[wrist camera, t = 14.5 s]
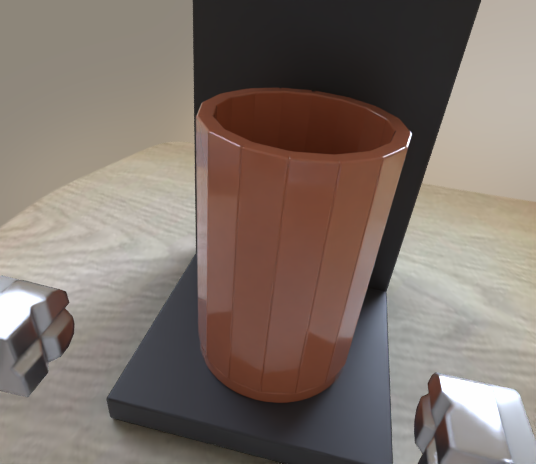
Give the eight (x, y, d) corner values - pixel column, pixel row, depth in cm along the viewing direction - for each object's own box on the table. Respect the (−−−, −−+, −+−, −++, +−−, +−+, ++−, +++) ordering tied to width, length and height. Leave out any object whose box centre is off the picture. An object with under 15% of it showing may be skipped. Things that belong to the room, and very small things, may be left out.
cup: (169, 366, 16) (152, 125, 11) (238, 273, 21) (250, 77, 16) (325, 430, 14) (396, 184, 9) (360, 314, 19) (420, 110, 14)
